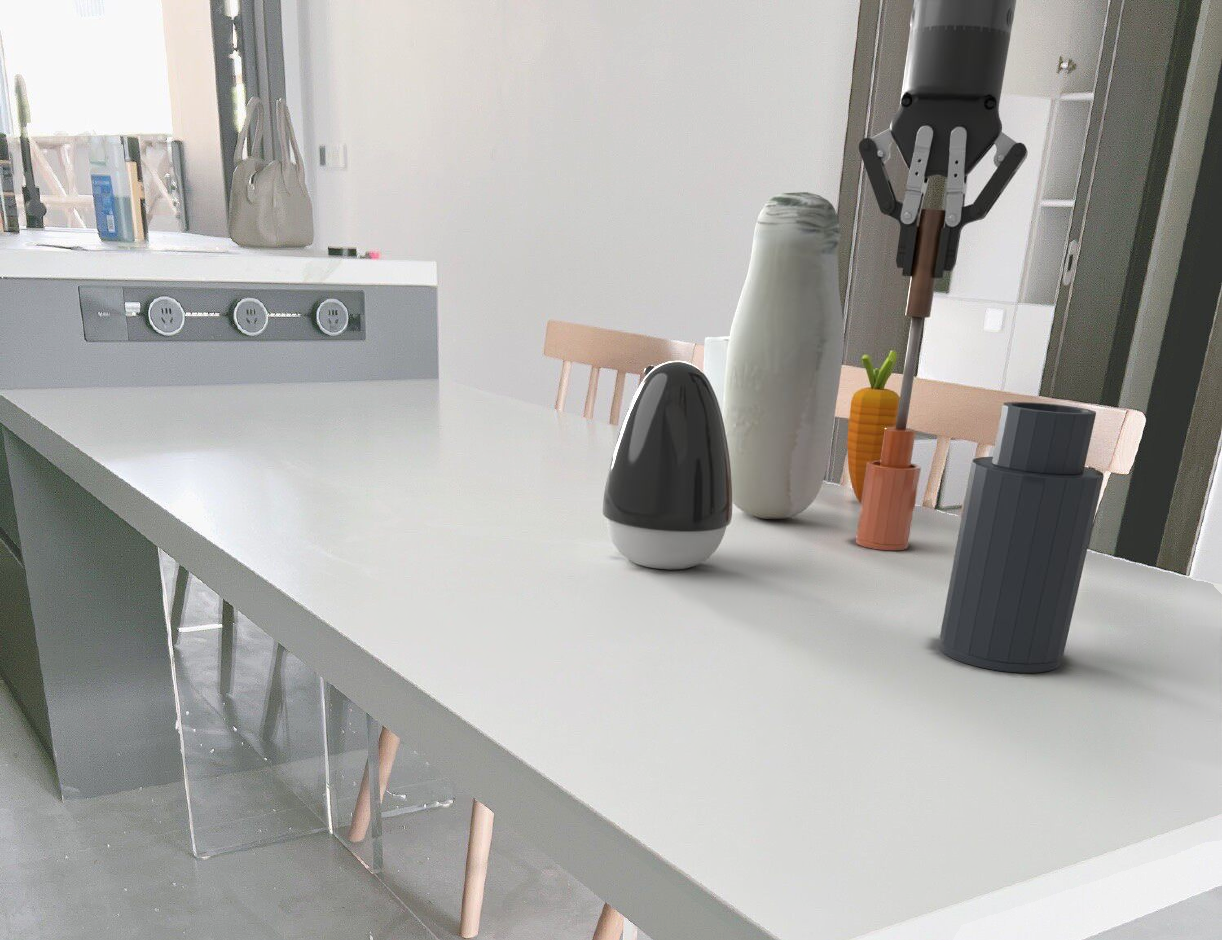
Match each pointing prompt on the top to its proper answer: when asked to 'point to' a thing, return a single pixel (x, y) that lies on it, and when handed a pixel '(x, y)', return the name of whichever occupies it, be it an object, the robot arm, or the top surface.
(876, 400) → the carrot
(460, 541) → the top surface
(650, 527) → the dark egg shaped ornament
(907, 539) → the cup
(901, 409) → the bottle brush
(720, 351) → the cosmetic box
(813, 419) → the pale grey bottle
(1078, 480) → the steel bottle
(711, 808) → the top surface
